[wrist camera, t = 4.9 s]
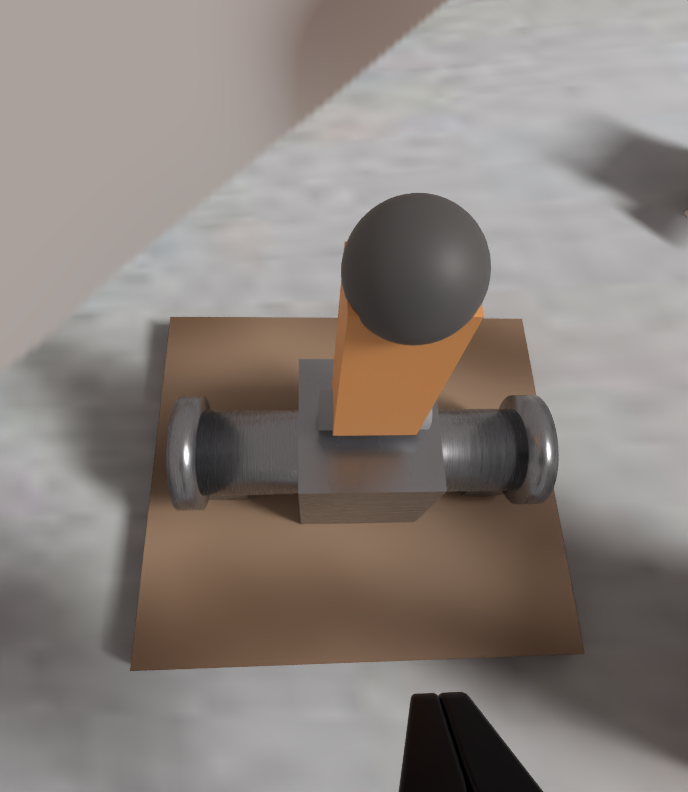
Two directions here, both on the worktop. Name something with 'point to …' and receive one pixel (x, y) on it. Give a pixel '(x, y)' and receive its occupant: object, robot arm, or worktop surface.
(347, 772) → the worktop surface
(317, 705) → the worktop surface
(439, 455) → the valve
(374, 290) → the valve lever
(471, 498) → the valve board
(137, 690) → the worktop surface
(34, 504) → the worktop surface
